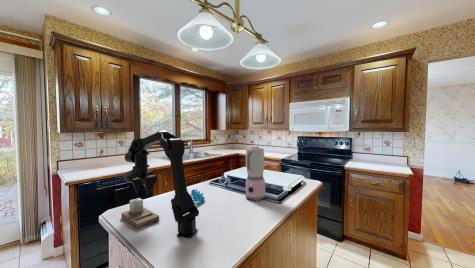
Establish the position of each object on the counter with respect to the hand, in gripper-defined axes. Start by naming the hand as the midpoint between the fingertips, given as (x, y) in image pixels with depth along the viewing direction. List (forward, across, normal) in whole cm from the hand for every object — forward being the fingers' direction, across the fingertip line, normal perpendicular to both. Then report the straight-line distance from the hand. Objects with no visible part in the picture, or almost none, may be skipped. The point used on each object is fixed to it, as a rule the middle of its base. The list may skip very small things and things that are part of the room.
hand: (142, 194), depth 96 cm
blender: (+12, +37, +49) cm, 63 cm away
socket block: (+11, +2, -3) cm, 12 cm away
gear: (+11, +11, +28) cm, 32 cm away
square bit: (+10, -2, -2) cm, 11 cm away
